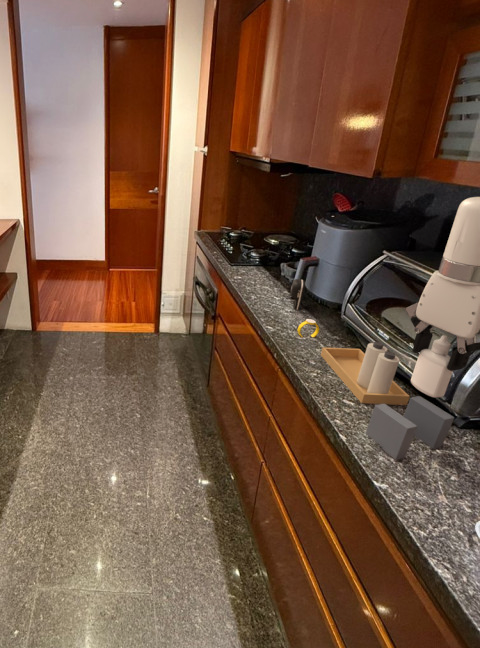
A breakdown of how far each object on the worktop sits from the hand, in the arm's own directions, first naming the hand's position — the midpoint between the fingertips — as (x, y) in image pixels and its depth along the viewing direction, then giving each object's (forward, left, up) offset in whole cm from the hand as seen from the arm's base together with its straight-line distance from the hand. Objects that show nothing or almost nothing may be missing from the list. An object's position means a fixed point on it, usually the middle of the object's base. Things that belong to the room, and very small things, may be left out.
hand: (436, 359), depth 73 cm
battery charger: (-22, -60, -21) cm, 67 cm away
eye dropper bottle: (0, 0, -7) cm, 7 cm away
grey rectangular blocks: (+1, 0, -20) cm, 20 cm away
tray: (-9, -20, -20) cm, 30 cm away
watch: (-12, -42, -21) cm, 48 cm away
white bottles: (-8, -15, -20) cm, 26 cm away
